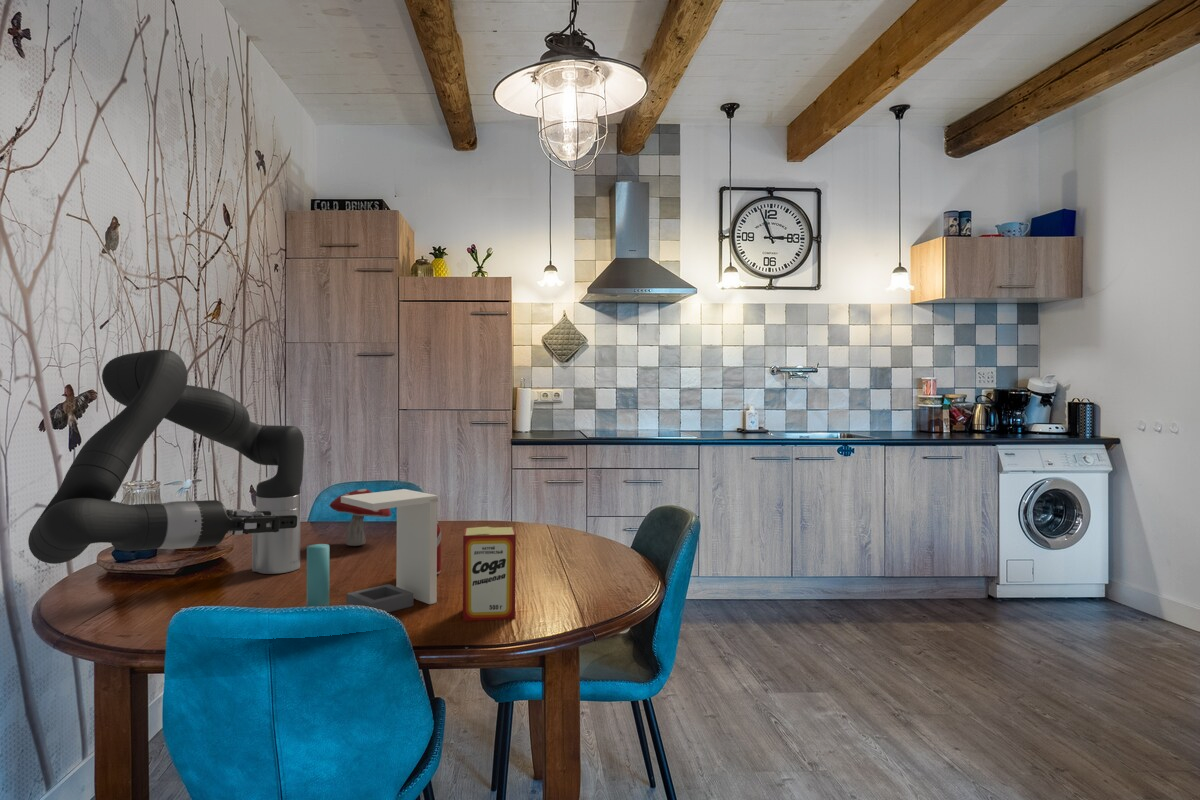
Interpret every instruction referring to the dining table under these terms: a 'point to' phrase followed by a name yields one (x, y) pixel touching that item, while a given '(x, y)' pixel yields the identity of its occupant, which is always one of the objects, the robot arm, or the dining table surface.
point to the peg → (318, 575)
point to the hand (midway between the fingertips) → (282, 519)
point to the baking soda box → (489, 573)
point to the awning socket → (404, 549)
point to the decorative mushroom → (357, 517)
